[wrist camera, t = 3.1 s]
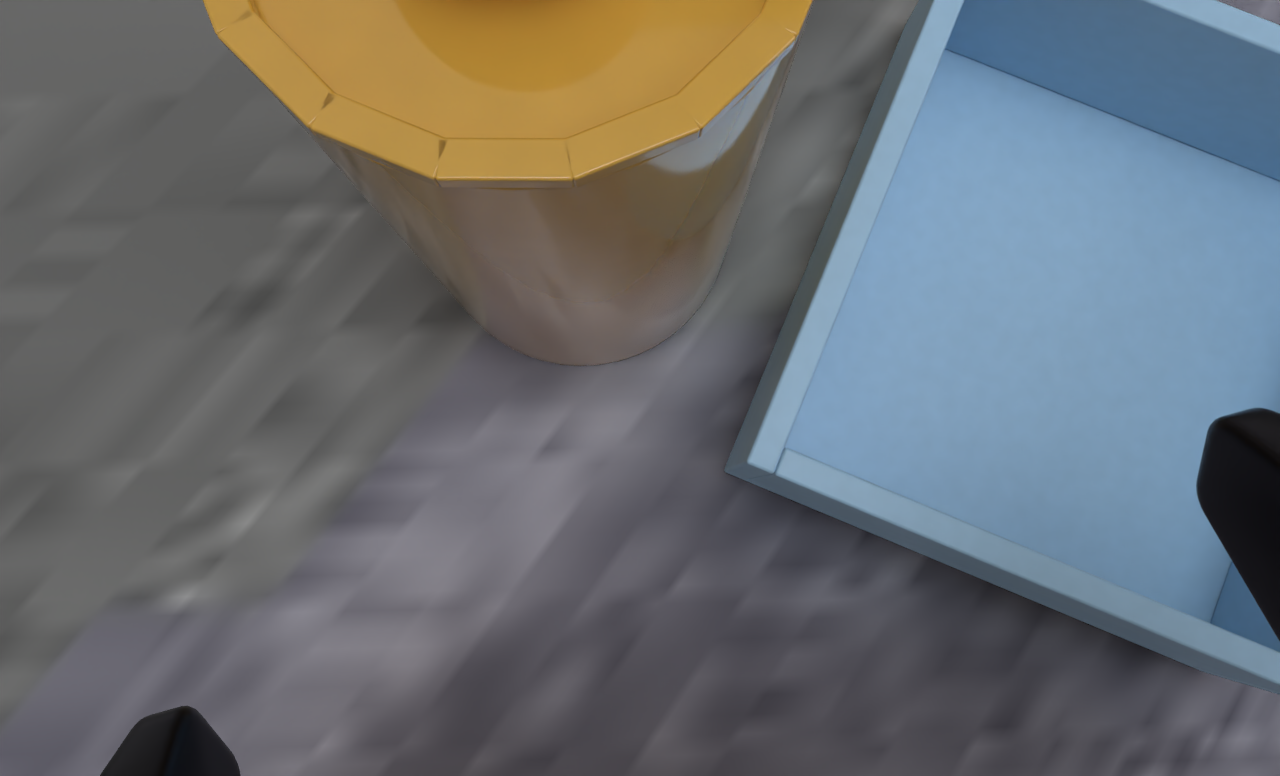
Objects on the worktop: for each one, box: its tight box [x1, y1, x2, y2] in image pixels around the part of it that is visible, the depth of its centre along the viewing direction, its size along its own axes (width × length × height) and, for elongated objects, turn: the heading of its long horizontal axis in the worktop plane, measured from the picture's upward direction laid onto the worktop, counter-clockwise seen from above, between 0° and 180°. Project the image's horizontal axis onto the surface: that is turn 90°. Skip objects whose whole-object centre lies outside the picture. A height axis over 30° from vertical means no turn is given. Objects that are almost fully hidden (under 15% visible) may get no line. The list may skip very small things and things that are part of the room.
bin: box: [724, 0, 1280, 694], centre depth 19 cm, size 10×10×4 cm
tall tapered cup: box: [203, 0, 815, 366], centre depth 16 cm, size 6×6×12 cm
